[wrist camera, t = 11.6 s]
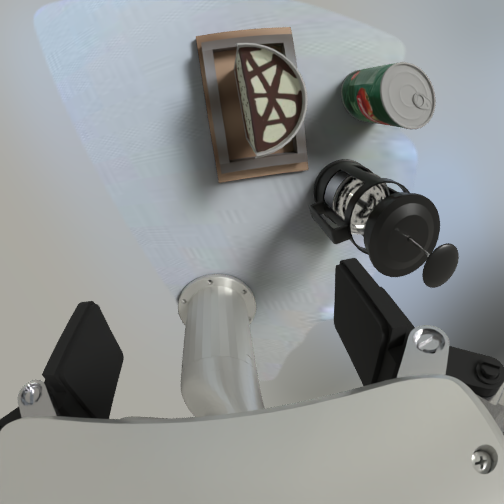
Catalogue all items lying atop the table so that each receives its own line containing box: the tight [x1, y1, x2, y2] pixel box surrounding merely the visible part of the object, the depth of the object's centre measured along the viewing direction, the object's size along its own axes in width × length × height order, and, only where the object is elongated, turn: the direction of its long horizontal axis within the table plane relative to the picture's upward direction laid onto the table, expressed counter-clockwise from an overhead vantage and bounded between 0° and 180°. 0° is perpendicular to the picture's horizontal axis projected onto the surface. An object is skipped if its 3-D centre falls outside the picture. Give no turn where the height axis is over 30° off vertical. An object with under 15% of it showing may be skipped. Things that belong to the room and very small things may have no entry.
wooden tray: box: [196, 27, 308, 183], centre depth 33 cm, size 20×12×3 cm, turn 8°
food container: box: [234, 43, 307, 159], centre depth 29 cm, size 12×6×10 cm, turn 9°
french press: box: [309, 159, 459, 288], centre depth 31 cm, size 12×9×23 cm
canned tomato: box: [341, 62, 436, 129], centre depth 30 cm, size 8×8×11 cm
